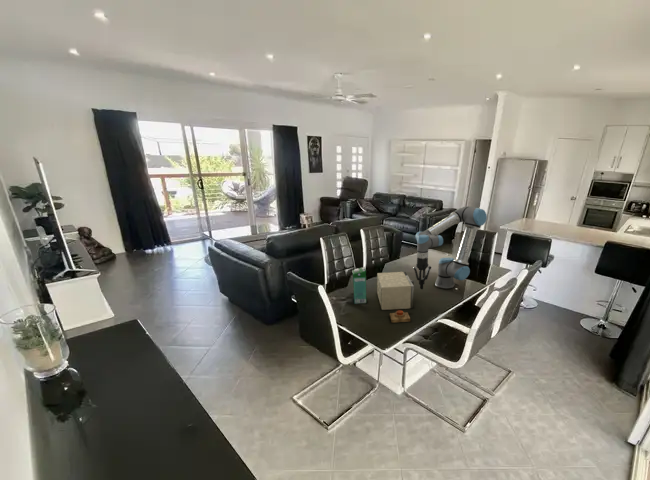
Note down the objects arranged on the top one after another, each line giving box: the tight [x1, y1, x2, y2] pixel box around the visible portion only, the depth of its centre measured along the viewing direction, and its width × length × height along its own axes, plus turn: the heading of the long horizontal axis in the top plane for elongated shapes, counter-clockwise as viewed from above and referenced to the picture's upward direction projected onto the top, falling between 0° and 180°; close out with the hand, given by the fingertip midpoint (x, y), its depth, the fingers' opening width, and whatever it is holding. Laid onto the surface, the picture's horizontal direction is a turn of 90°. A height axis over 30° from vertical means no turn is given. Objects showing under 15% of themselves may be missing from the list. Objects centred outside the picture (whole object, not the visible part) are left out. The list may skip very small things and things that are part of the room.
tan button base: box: [389, 311, 411, 324], centre depth 209 cm, size 12×9×4 cm
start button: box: [396, 309, 404, 315], centre depth 208 cm, size 4×4×2 cm
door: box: [406, 274, 415, 309], centre depth 230 cm, size 5×21×17 cm, turn 6°
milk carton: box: [352, 266, 368, 305], centre depth 231 cm, size 9×9×25 cm
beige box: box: [376, 271, 411, 311], centre depth 232 cm, size 22×28×17 cm
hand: (421, 288), depth 231 cm, fingers closed
